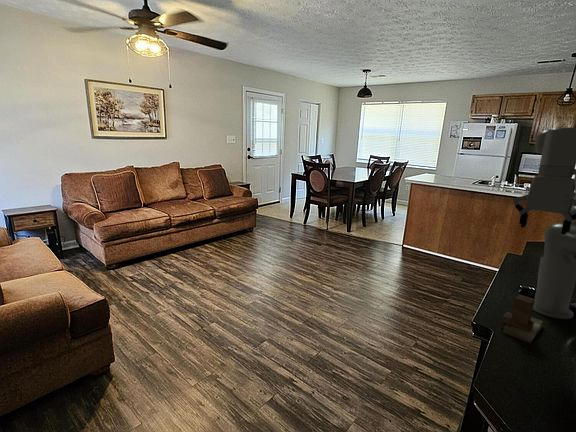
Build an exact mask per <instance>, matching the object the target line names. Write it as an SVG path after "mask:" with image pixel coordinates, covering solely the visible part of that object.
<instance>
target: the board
mask: <svg viewBox="0 0 576 432" xmlns="http://www.w3.org/2000/svg"><path fill="white" fill-rule="evenodd" d="M530 320H532V321H534V325H533V328H532V329H531V331H530V332H528V331H526V330H523V329H520V328H518V327H515V326H513V325H510V324H506V325H505V326H504V328H502V329H503V330H502V333H504V334H506V335H509V336H511V337H514V338H515V339H519V340H521V341H524V342H526V343H529V344H531V343H532V341H533V340H534V339H535V337H536V336H537V335H538V334H539V331H540V330H541V329H542V328H543V323H544V321H543V320H541V319H537V318H535V317H532V316H531V319H530Z"/></svg>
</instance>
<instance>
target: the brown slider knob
mask: <svg viewBox="0 0 576 432" xmlns="http://www.w3.org/2000/svg"><path fill="white" fill-rule="evenodd" d="M534 301H535V298H532V297H529V296H526V295H524V294H520V293H519V294H518V295H517V296H516V297H515V298H514V303H513V308H512V312H509V311H506V312H505V313H504V314H503V315H502V317H501V322H500V328H502V329H504V326H505V325H506V324H510V325H513V326H515V327H518V328H520V329H523V330H526V331H528V332H530V331H531V329H532V328H533V325H534V321H532V320H530V319H531V317H532V315H533V311H534V310H533V306H534Z"/></svg>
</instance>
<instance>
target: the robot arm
mask: <svg viewBox="0 0 576 432" xmlns="http://www.w3.org/2000/svg"><path fill="white" fill-rule="evenodd" d="M534 147H535V150H536V152H538V154H541V158H540V163H539V168H538V172H537V175H535V176H534V177H533V180H532V181H531V185H530V187H529V190H528V193H527V194H526V195H525V194H524V195H521V196H518V197H514V198H512V201H513V204H514V206H515V209H516V210H517V211H518V212H519V214H520V216H519V217H520V218H519V221H518V222H519V223H518V224H519V225H520V228H525V227H526V226H527V223H528V217H529V213H528V212H529V211H534V210H535V211H540V212H545V213H546V212H548V213H554V214H555V213H556V214H561V215H562V223H561V222H559V223H553V224H550V225H549V226H548V227H547V228H546V229H545V232H544V233H545V234H544V251H543V256H542V257H543V262H542V267H541V271H540V276H539V281H538V280H537V283H538V285H537V286H536V289H535V295H534V299H535V301H534V306H533V310H532V311H535V312H536V313H538V314H540V315H543V316H546V317H549V318H553V319H558V320H570V319H573V317H574V315H575V314H574V312H573V311H572V310H571V309H570V304H571V301H572V295H573V291H574V289H575V284H576V257H574V256H576V168H575V164H576V127H554V128H550V129H549V128H548V129H544V130H542V131H540V132H539V134H538V135H537V136H536V137H535V140H534ZM573 176H574V178H572V177H573ZM525 200H526V202H525V207H524V206H522V204H521V201H525Z"/></svg>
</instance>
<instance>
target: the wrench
mask: <svg viewBox="0 0 576 432" xmlns="http://www.w3.org/2000/svg"><path fill="white" fill-rule="evenodd" d="M543 257H544V256H540V259H539V260H540V261H539V266H538V271H537V283H536V284H537V285H538V281H539V276H540V271H541V267H542V262H543Z"/></svg>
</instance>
